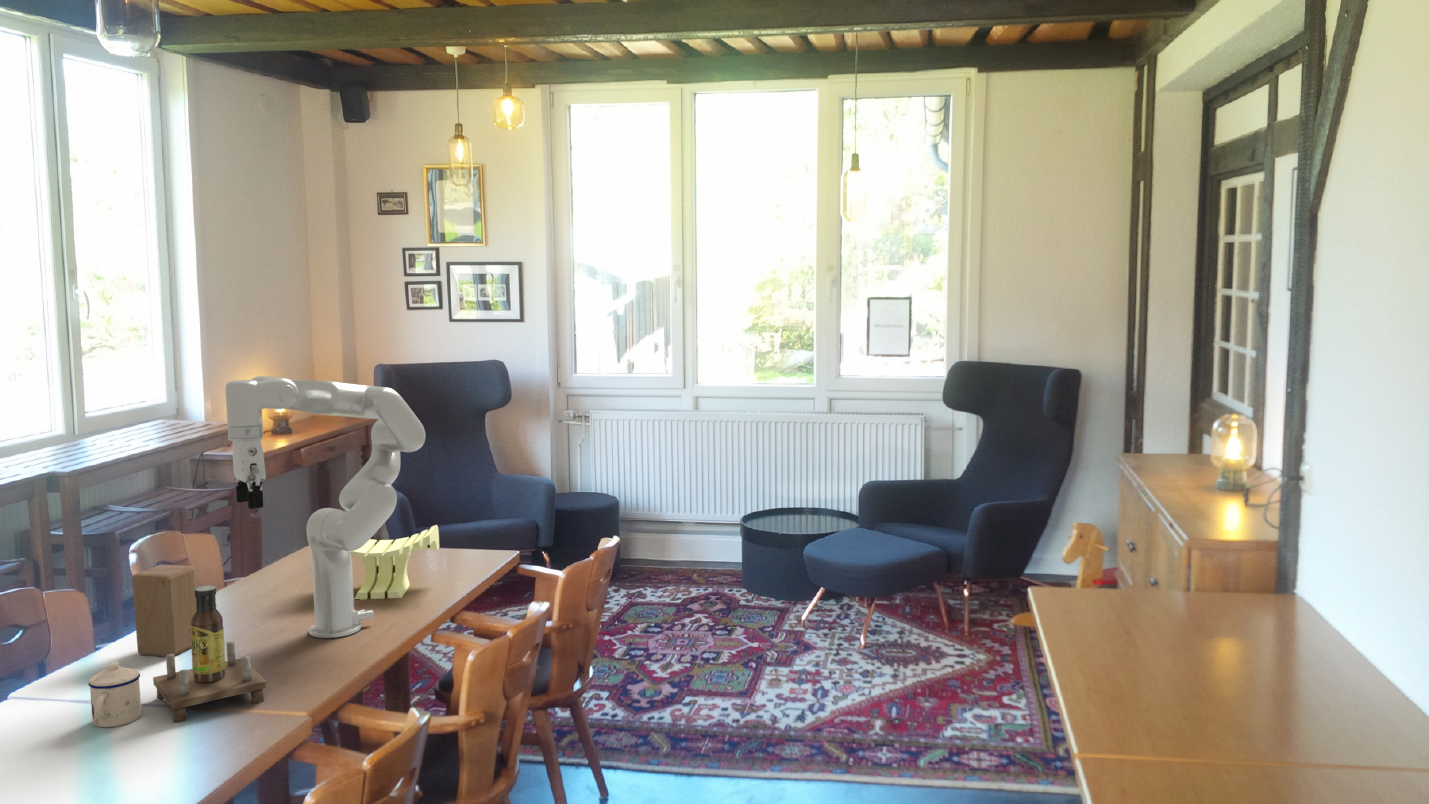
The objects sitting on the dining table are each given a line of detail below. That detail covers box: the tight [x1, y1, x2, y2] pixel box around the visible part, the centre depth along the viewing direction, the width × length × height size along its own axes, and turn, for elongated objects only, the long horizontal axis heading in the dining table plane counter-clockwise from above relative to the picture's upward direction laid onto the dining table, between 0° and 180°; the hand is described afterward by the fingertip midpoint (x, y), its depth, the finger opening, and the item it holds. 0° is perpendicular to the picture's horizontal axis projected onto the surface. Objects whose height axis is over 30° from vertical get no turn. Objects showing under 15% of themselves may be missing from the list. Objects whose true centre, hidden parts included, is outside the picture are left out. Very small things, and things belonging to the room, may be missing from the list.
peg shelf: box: [152, 641, 267, 723], centre depth 220 cm, size 18×18×10 cm
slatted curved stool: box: [350, 524, 440, 601], centre depth 299 cm, size 30×16×18 cm, turn 96°
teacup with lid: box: [87, 662, 142, 728], centre depth 209 cm, size 12×9×12 cm
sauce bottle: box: [191, 585, 226, 683], centre depth 219 cm, size 6×6×20 cm
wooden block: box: [131, 564, 197, 657], centre depth 250 cm, size 10×10×20 cm
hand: (249, 504), depth 244 cm, fingers open, 9 cm apart
